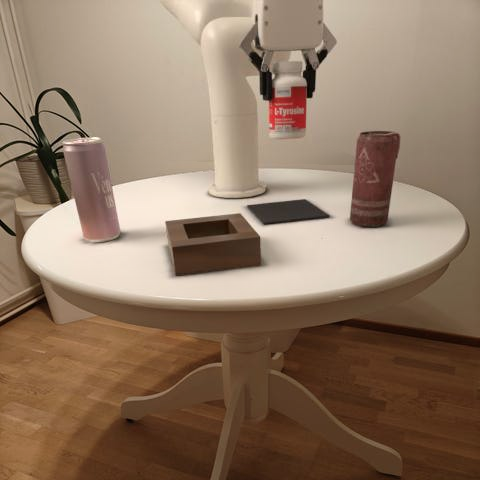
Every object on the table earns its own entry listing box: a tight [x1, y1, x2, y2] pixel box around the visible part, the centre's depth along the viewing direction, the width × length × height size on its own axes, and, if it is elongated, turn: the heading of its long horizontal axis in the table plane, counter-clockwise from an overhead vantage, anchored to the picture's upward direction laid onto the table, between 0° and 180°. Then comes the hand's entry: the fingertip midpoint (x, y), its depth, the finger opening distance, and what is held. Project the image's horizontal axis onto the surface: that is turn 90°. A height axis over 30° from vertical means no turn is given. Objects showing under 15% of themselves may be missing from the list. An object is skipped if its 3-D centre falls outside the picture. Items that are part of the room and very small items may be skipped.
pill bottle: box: [268, 60, 308, 140], centre depth 69 cm, size 6×6×11 cm
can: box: [349, 130, 401, 228], centre depth 68 cm, size 6×6×14 cm
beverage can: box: [62, 137, 121, 243], centre depth 66 cm, size 6×6×15 cm
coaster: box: [246, 198, 330, 226], centre depth 78 cm, size 12×12×1 cm
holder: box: [164, 212, 262, 277], centre depth 60 cm, size 12×12×4 cm
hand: (287, 97), depth 69 cm, fingers closed on pill bottle, 6 cm apart
